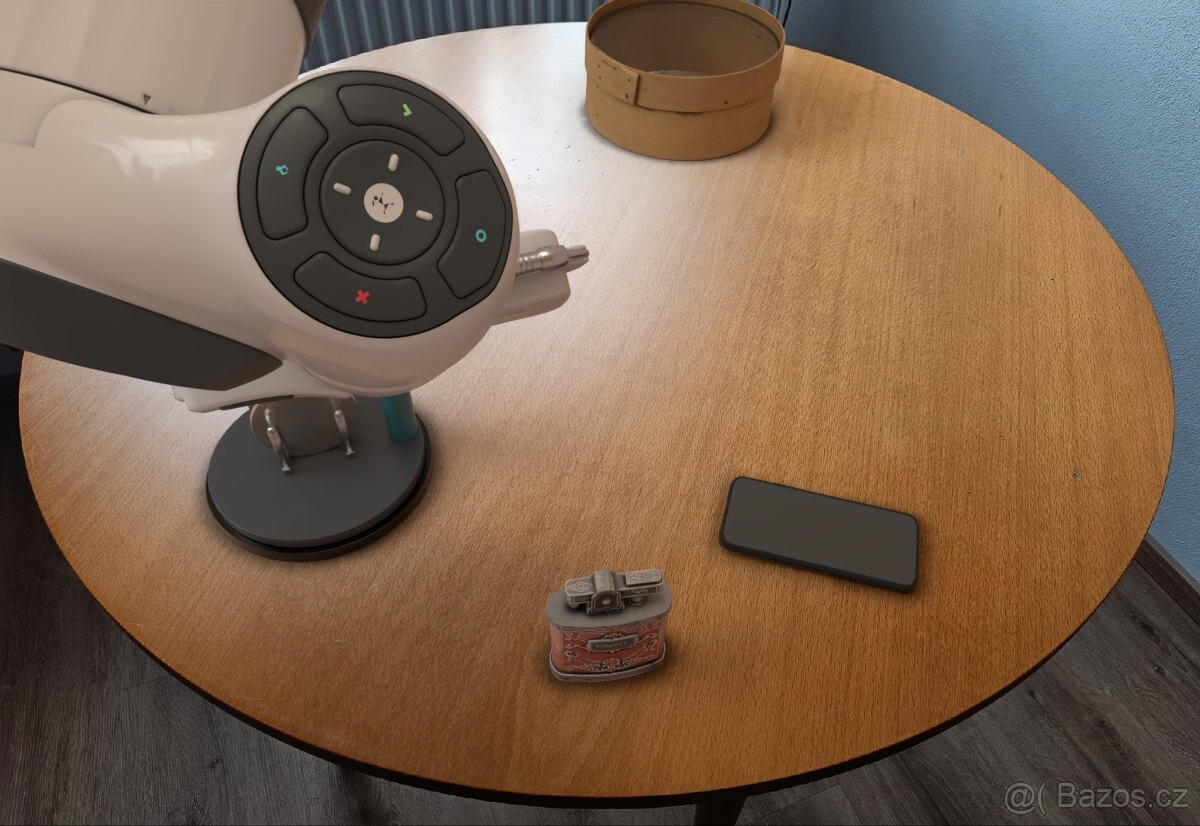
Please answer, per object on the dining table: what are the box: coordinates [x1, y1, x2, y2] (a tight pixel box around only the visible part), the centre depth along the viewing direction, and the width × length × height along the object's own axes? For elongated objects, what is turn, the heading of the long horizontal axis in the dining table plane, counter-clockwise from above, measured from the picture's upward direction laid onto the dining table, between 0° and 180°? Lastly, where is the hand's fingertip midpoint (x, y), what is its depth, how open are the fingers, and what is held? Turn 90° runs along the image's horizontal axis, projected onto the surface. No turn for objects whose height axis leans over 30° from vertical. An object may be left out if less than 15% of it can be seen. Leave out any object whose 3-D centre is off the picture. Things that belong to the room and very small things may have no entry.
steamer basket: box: [584, 0, 787, 161], centre depth 110 cm, size 25×25×11 cm
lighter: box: [546, 568, 673, 683], centre depth 56 cm, size 8×3×10 cm, turn 99°
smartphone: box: [718, 475, 920, 593], centre depth 67 cm, size 7×1×15 cm
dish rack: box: [207, 391, 425, 548], centre depth 66 cm, size 17×17×13 cm
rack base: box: [205, 412, 434, 562], centre depth 71 cm, size 18×18×1 cm
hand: (373, 329), depth 51 cm, fingers closed
